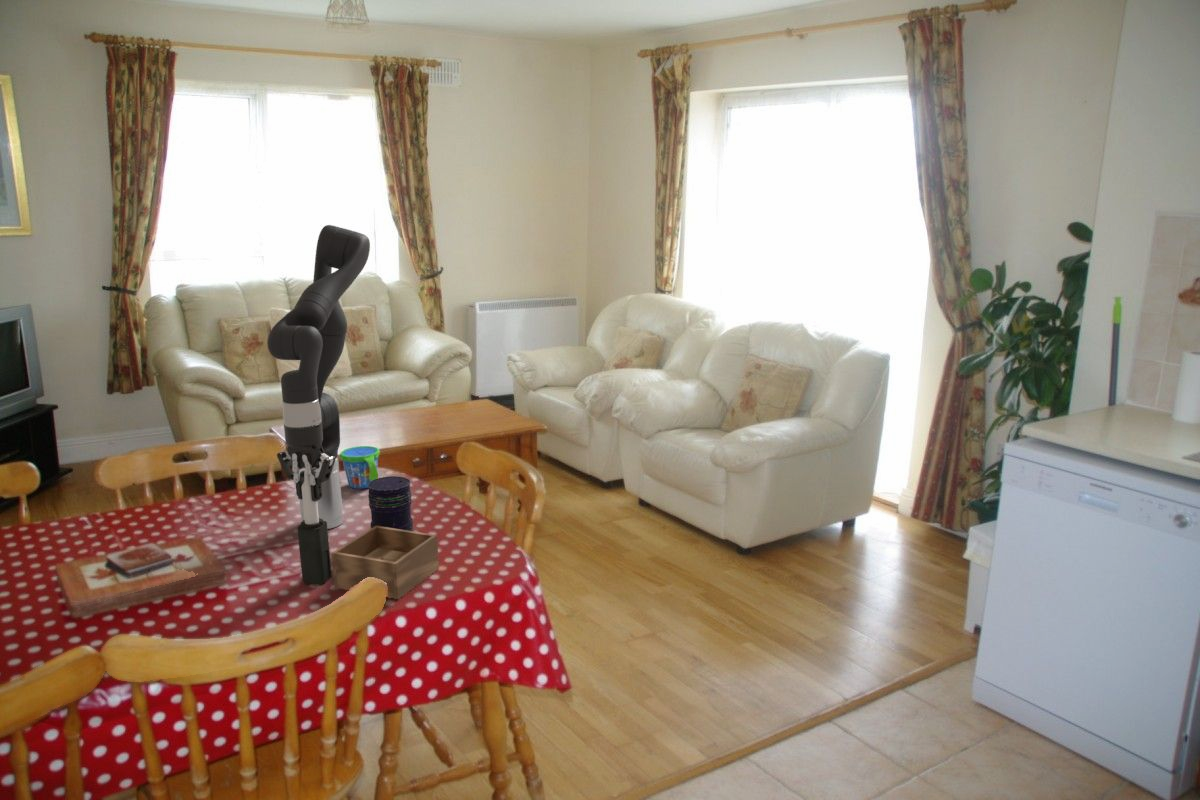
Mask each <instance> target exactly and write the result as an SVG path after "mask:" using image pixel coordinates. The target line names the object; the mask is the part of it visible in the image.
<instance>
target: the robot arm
mask: <svg viewBox="0 0 1200 800" xmlns="http://www.w3.org/2000/svg"><path fill="white" fill-rule="evenodd" d="M370 249H371V243H370V239H369V237H368V236H367V235H366V234H364V233H361V232H358V231H356V230H351V229H347V228H344V227H339V226H336V225H332V224H326V225H324V226H323V227H322V229H321V230H320V232H319V235H318V237H317V243H316V249H315V260H314V268H313V269H314V270H313V280H312V281H313V282H312V283H311V284H309V285H308V286H307V287H306V288H305V289H304V291H303V292H302V293H301V295H300V297H299V298H298V300H297V302H296V304H295V305H294V307H293V309H291V310H290V311H288V312H287V313H286V314H285V315H284V316H283V317H282V318H281V319H280V320H278V321H277V322H276V323H275V325H274V326H273V327H272V328H271V329H270V331H269V334H268V337H267V340H266V341H267V343H266V344H267V350H268V352H269V354H270V355H271V356H272V358H275V359H277V360H280V361H281V360H282V361H299V366H298V369H294V370H289V371H286V372H285V373H283V374H282V375H281V377H280V385H281V397H282V421H283V431H284V439H285V444H286V446H287V448H286V449H284V450H282V451H280V452H277V454H276V457H277V459H278V462H279V464H280V466H281V468H282V470H283V473H284V475H285V477H286V479H287V480H290V479H291V480H292V481H293V482H294V484H295V494H296V496H297V498H298V500H299V508H300V516H301V517H300V519H301V520H300V521H301V522H303V520H304V510H303V499H302V489H301V486H302V484H303V483H304V480H305V476H306V473H305V471H306V472H307V475H309V477H310V482H311V484H312V485H310V487H311V497H312V501H315V502H316V501H317V504H318V515H319V518H321V519H323V521H326V522H327V528H328V530H329V529H333V528H336V527H339V526H341V525H342V524H343V523H344V513H343V512H344V511H343V500H342V499H343V497H342V490H341V489H342V488H341V487H342V486H341V477H340V476H341V475H340V464H339V452H338V451H339V448H340V445H341V428H340V426H341V425H340V422H341V421H340V412H339V407H338V404H337V402H336V401H335V399H334V398H333V396H332V395H330V394H328V393H326V392H323V391H324V388H325V385H326V383H327V381H328V379H329V377H330V376H331V374H332V372H333V371H334V368H335V367H336V365H337V363H338V362H339V360H340V358H341V356H342V353H343V351H344V347H345V342H346V336H347V330H348V322H347V317H346V315H345V312H344V310H343V307H342V305H341V303H340V298H341V297H342V296H343V295H344V293H346V291H347V290H348V289H349V288H350V287H351V285H352V284H353V283H354V281H355V280H356V278H358V277H359V275H360V274H361V273H362V271H363V270H364V268H365V266H366V264H367V262H368V260H369V256H370ZM332 268H333V269H336V270H335V271H332V270H333V269H332Z"/></svg>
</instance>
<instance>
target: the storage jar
mask: <svg viewBox="0 0 1200 800" xmlns="http://www.w3.org/2000/svg"><path fill="white" fill-rule="evenodd" d="M367 489H368V495H367V496H368V497H367V498H368V507H369V509H370V514H371V516H370V517H371V521H370V529H371V528H373V527H374V526H382V527H388V528H395V529H401V530H407V531H414V519H413V517H412V509H411V506H412V500H413V499H412V490H411V481H410V479H409V478H407V477H404V476H397V475H396V476H392V475H391V476H383V477H379V478H377V479H375V480H372V481H371V482H369V484H368V488H367ZM414 532H415V531H414Z"/></svg>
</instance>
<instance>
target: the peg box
mask: <svg viewBox="0 0 1200 800" xmlns="http://www.w3.org/2000/svg"><path fill="white" fill-rule="evenodd" d="M330 556H331V563H332V564H331V567H332V574H333V575H332V578H333V587H334V589H340V590H345V591H349V590H348V589H350V588H351V587H353V586H354V585H356V584H358V583H359V582H360V581H362V580H363V579H365V578H367V577H375V578H378V579H381V580H383V581H384V582H386V583H387V586H388V599H391V598H394V599H393V600H397V599H398V600H397V601H399V600H400V599H402V598H403V597H404V596H406V595H407V594H408V593H409V592H411V591H412V590H413V589H414V588H416V587H417V586H418V585H420V584H421V583H422V582H423V581H425V580H426V579H428V578H429V577H430V576H432V575H433V574H435V572H437V571H438V570H439V569H440V566H439V565H440V564H439V561H440V560H439V545H438V534H437V535H436V534H432V533H426V532H425V533H424V532H419V531H407V530H401V529H395V528H388V527H382V526H374V527H373V528H371V527H370V529H367V530H366V531H365V532H363V533H361V534H359V535H358V536H357V537H355V538H353V539H352V540H350V541H348V542H346V543H345V544H344V545H342V546H340V547H338V548H337V549H335V550H334V551H332V552H331V554H330ZM436 570H437V571H436ZM432 573H433V574H432ZM428 576H429V577H428ZM415 586H416V587H415ZM410 590H411V591H410ZM401 597H402V598H401Z"/></svg>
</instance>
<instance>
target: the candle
mask: <svg viewBox="0 0 1200 800" xmlns="http://www.w3.org/2000/svg"><path fill="white" fill-rule="evenodd" d="M305 473H306V476H305V480H304V483H303V484H302V486H301V489H302V499H303V510H304V520H303V522H302V521H300V525H298V526H297V528H296V529H297V530H296V531H297V539H298V549H299V559H300V567H301V579H302V580H301V581H302V583H303V584H304V585H313V586H322V585H324V584H325V583H326V582H327V581H328V580H329V579H332V578H333V575H332V574H333V572H332V564H331V563H332V561H331V554H330V541H329V529H328V528H327V522H326V521H323V519H321V518H319V515H318V504H317V501H316V502H315V501H312V497H311V487H310V485H312V484H311V482H310V477H309V475H307V472H306V471H305Z"/></svg>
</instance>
